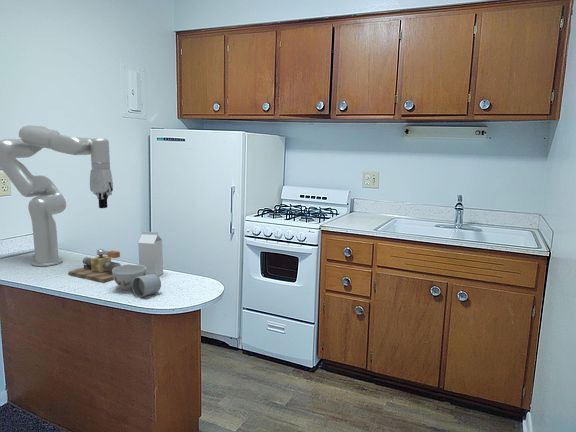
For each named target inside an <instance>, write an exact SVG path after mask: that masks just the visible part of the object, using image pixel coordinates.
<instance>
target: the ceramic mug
mask: <svg viewBox="0 0 576 432" xmlns="http://www.w3.org/2000/svg"><path fill="white" fill-rule="evenodd" d="M161 288H162V281H161V279H160V276H157V275H155V274H150V275H145V276H139V277H136V278H134V280H133V282H132V289H133V290H132V292H133V294H134V296H136V297H137V298H144V297H148V296H150V295H153V294H156V293H158V292H159V291H160V290H161Z"/></svg>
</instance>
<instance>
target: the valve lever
mask: <svg viewBox="0 0 576 432" xmlns="http://www.w3.org/2000/svg"><path fill="white" fill-rule="evenodd" d="M96 255H97V256H99V255H103V256H108V257H110V258H111V259H118V258H121V252H120V251H117V250H105V249H101V248H100V249H96Z"/></svg>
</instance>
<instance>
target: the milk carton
mask: <svg viewBox="0 0 576 432" xmlns="http://www.w3.org/2000/svg"><path fill="white" fill-rule="evenodd" d="M141 233H142V234H141V236H140V238H139V240H138V241H137V242H138V244H137V246H138V265H143V266H145V267H146V275H150V274H155V275H157V276H158V277H160V276H162V275H163V274H164V260H163V259H164V258H163V256H164V255H163V240H162V238H161V237H160V235H159V233H158V231H157V232H156V231H141Z"/></svg>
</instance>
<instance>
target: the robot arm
mask: <svg viewBox="0 0 576 432" xmlns="http://www.w3.org/2000/svg"><path fill="white" fill-rule="evenodd" d="M18 138H19V139H16V138H5V139H1V140H0V170H2V172H4V174H5V175H6V176H7V178H8V179H9V180H10V182H11V183H12V184H13V186H14V187H15V189H17V191H18V192H19V193H20V195H21V196H22V197H25V198H32V199H30V200H29V202H28V205H27V208H28V212H29V215H30V219H31V226H32V235H33V236H32V237H33V247H34V254H33V253H32V257H33V258H34V260H33V261H31V266H34V267H50V266H56V265H59V264H61V263H62V262H63V258H62V257H59V246H58V245H59V244H58V232H57V231H58V230H57V224H56V220H55V218H54V217H53V215H57V214H58V215H59V214H61V213H62V212H63V213H64V211H65V210H66V208H67V201H66V199H65V197H64V195H63V194H62V193H61V192H60V190H59V188H58V187H57V186H56V185H55V184H54V181H52V179H50V178H48V177H47V176H45V175H33V173H31V172H30V171H29V169H28V168H27V166H25V164H24V163H22V162H21V161H19V160H18V159H21V158H22V159H25V158H31V157H33V156H34V155H36V154H37V153H38V152H40V151H41V150H43V149H49V150H52V151H55V152H58V153H62V154H66V155H71V156H72V155H73V156H90V162H91V169H90V173H89V174H90V175H89V189H90V192H92V194H94V195H96V197H97V200H98V208H99V209H106V208H108V199H109V197H110V196H112V192H113V191H114V181H113V174H112V170H111V161H110V160H111V159H110V143H109V140H108V139H107V138H102V137H100V138H98V137H96V138H91V137H78V136H77V137H76V136H69V135H68V136H67V135H63V134H61V133H60V132H59V131H57V130H55V129H49V128H48V127H46V126H43V125H42V126H41V125H31V124H30V125H25V126H22V127H21V128H19V130H18ZM33 197H34V198H33Z"/></svg>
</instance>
